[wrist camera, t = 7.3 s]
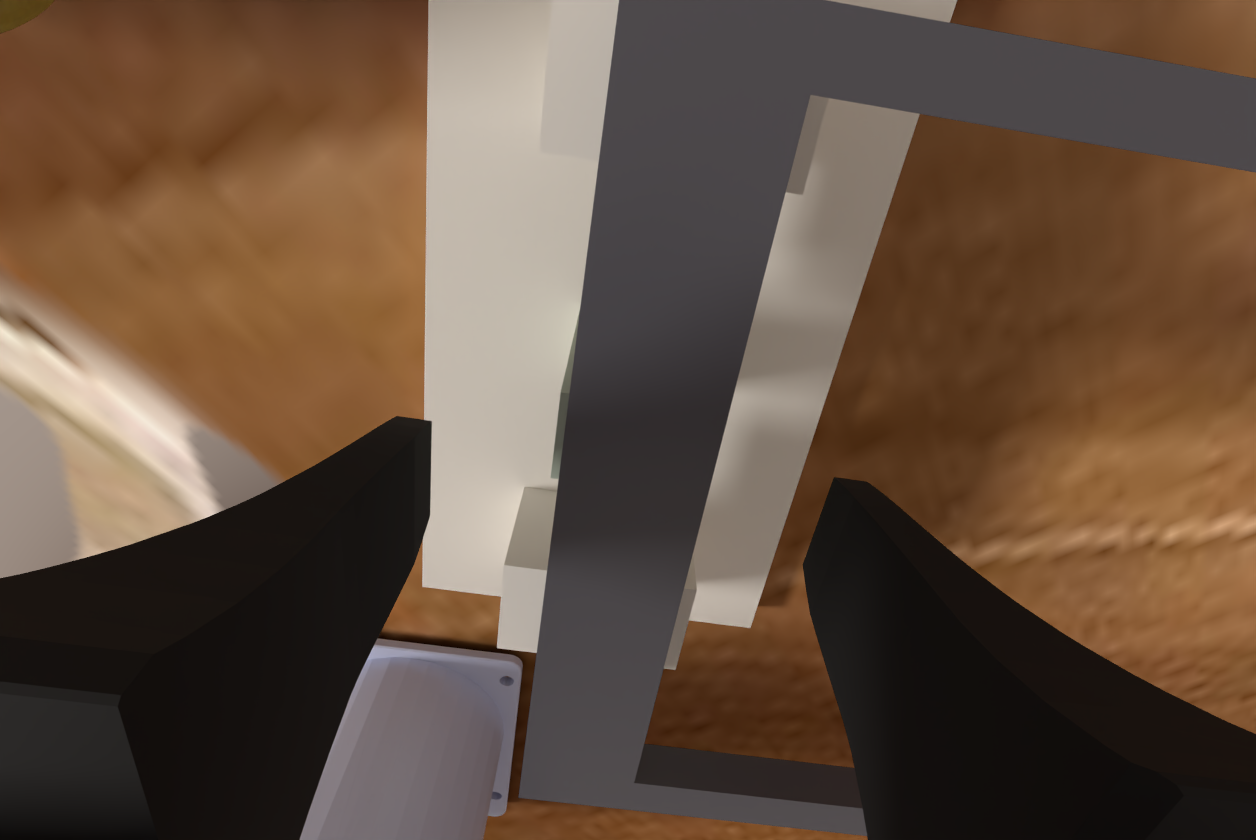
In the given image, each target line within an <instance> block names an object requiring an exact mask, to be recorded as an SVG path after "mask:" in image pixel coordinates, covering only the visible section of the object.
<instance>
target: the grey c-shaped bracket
mask: <svg viewBox="0 0 1256 840" xmlns="http://www.w3.org/2000/svg"><path fill="white" fill-rule="evenodd" d="M810 95H814V96H820V97H826V98H832V99H837V100H843V101H849V102H855V103H860V104H866V105H872V106H878V107H883V108H889V109H895V110H901V111H906V112H912V113H918V114H923V115H929V116H935V117H941V118H946V119H952V120H958V121H964V122H969V123H975V124H981V125H987V126H992V127H998V128H1004V129H1010V130H1015V131H1021V132H1027V133H1033V134H1038V135H1044V136H1050V137H1056V138H1061V139H1067V140H1073V141H1079V142H1084V143H1090V144H1096V145H1101V146H1107V147H1113V148H1119V149H1124V150H1130V151H1136V152H1142V153H1147V154H1153V155H1159V156H1165V157H1170V158H1176V159H1182V160H1188V161H1193V162H1199V163H1205V164H1211V165H1216V166H1222V167H1228V168H1234V169H1239V170H1245V171H1251V172H1256V79H1255V78H1249V77H1244V76H1238V75H1233V74H1227V73H1222V72H1216V71H1211V70H1205V69H1200V68H1194V67H1189V66H1183V65H1178V64H1173V63H1167V62H1162V61H1156V60H1151V59H1145V58H1140V57H1134V56H1129V55H1123V54H1118V53H1112V52H1107V51H1101V50H1096V49H1090V48H1085V47H1079V46H1074V45H1069V44H1063V43H1058V42H1052V41H1047V40H1041V39H1036V38H1030V37H1025V36H1019V35H1014V34H1008V33H1003V32H997V31H992V30H986V29H981V28H975V27H970V26H965V25H959V24H954V23H948V22H943V21H937V20H932V19H926V18H921V17H915V16H910V15H904V14H899V13H893V12H888V11H882V10H877V9H872V8H866V7H861V6H855V5H850V4H844V3H839V2H833V1H828V0H619V4H618V12H617V20H616V28H615V36H614V44H613V52H612V60H611V68H610V76H609V84H608V92H607V100H606V108H605V115H604V123H603V131H602V139H601V147H600V155H599V163H598V171H597V179H596V187H595V195H594V203H593V211H592V219H591V226H590V234H589V242H588V250H587V258H586V266H585V274H584V282H583V290H582V298H581V306H580V314H579V322H578V329H577V337H576V345H575V353H574V361H573V369H572V377H571V385H570V393H569V401H568V409H567V417H566V425H565V433H564V440H563V448H562V456H561V464H560V472H559V480H558V488H557V496H556V504H555V512H554V520H553V528H552V536H551V544H550V551H549V559H548V567H547V575H546V583H545V591H544V599H543V607H542V615H541V623H540V631H539V639H538V647H537V655H536V662H535V670H534V678H533V686H532V694H531V702H530V710H529V718H528V726H527V734H526V742H525V750H524V758H523V765H522V773H521V781H520V789H519V797H518V798H525V799H535V800H544V801H553V802H562V803H571V804H580V805H589V806H598V807H608V808H617V809H626V810H635V811H644V812H653V813H662V814H671V815H680V816H690V817H699V818H708V819H717V820H726V821H735V822H744V823H753V824H763V825H772V826H781V827H790V828H799V829H808V830H817V831H826V832H835V833H845V834H854V835H863V836H867V831H866V826H865V820H864V814H863V808H862V803H861V798H860V793H859V788H858V783H857V777H856V772H855V768H849V767H840V766H832V765H823V764H814V763H806V762H797V761H788V760H780V759H771V758H762V757H754V756H745V755H736V754H728V753H719V752H711V751H702V750H693V749H685V748H676V747H667V746H659V745H650V744H644V743H645V739H646V735H647V731H648V727H649V723H650V719H651V715H652V711H653V708H654V704H655V700H656V696H657V692H658V688H659V684H660V680H661V676H662V672H663V669H664V665H665V661H666V657H667V653H668V649H669V645H670V641H671V637H672V633H673V630H674V626H675V622H676V618H677V614H678V610H679V606H680V602H681V598H682V594H683V591H684V587H685V583H686V579H687V575H688V571H689V567H690V563H691V559H692V555H693V552H694V548H695V544H696V540H697V536H698V532H699V528H700V524H701V520H702V516H703V513H704V509H705V505H706V501H707V497H708V493H709V489H710V485H711V481H712V478H713V474H714V470H715V466H716V462H717V458H718V454H719V450H720V446H721V442H722V439H723V435H724V431H725V427H726V423H727V419H728V415H729V411H730V407H731V403H732V400H733V396H734V392H735V388H736V384H737V380H738V376H739V372H740V368H741V364H742V361H743V357H744V353H745V349H746V345H747V341H748V337H749V333H750V329H751V325H752V322H753V318H754V314H755V310H756V306H757V302H758V298H759V294H760V290H761V286H762V283H763V279H764V275H765V271H766V267H767V263H768V259H769V255H770V251H771V247H772V244H773V240H774V236H775V232H776V228H777V224H778V220H779V216H780V212H781V208H782V205H783V201H784V197H785V193H786V189H787V185H788V181H789V177H790V173H791V169H792V166H793V162H794V158H795V154H796V150H797V146H798V142H799V138H800V134H801V130H802V127H803V123H804V119H805V115H806V111H807V107H808V103H809V99H810Z"/></svg>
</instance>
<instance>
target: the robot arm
mask: <svg viewBox="0 0 1256 840" xmlns="http://www.w3.org/2000/svg"><path fill="white" fill-rule="evenodd" d="M431 440H432V421H428V420H421V419H413V418H406V417H399V416H396V417H394V418H392V419H391V420H389V421H387V422H385V423H384V424H382V425H380V426H379V427H377V428H376V429H374V430H372V431H371V432H369V433H368V434H366V435H364V436H363V437H361V438H360V439H358V440H356V441H355V442H353V443H351V444H350V445H348V446H346V447H345V448H343V449H341V450H340V451H338V452H336V453H335V454H333V455H331V456H330V457H328V458H326V459H325V460H323V461H321V462H320V463H318V464H316V465H315V466H313V467H311V468H309V469H307V470H305V471H303V472H301V473H300V474H298V475H296V476H294V477H292V478H290V479H288V480H286V481H285V482H283V483H281V484H279V485H277V486H275V487H273V488H272V489H270V490H268V491H266V492H264V493H262V494H260V495H257V496H255V497H253V498H251V499H249V500H247V501H245V502H242V503H240V504H238V505H236V506H233V507H231V508H229V509H226V510H224V511H221V512H219V513H217V514H214V515H212V516H210V517H207V518H205V519H202V520H200V521H197V522H194V523H192V524H189V525H186V526H183V527H180V528H177V529H174V530H171V531H169V532H166V533H163V534H160V535H157V536H154V537H151V538H148V539H146V540H143V541H140V542H137V543H134V544H131V545H128V546H125V547H121V548H118V549H115V550H111V551H108V552H104V553H101V554H97V555H94V556H90V557H87V558H83V559H79V560H75V561H72V562H68V563H64V564H60V565H57V566H53V567H49V568H45V569H40V570H36V571H32V572H28V573H24V574H20V575H14V576H10V577H5V578H0V840H483V837H484V832H485V827H486V822H487V817H488V816H500V815H502V814H504V813H505V811H506V808H507V801H508V792H509V784H510V775H511V766H512V757H513V748H514V739H515V730H516V721H517V713H518V704H519V695H520V686H521V677H522V668H523V664H522V661H521V660H520V659H519V658H518V657H516V656H514V655H510V654H502V653H494V652H486V651H477V650H469V649H461V648H453V647H444V646H436V645H428V644H420V643H411V642H403V641H395V640H387V639H378V636H379V634H380V632H381V630H382V628H383V626H384V624H385V622H386V620H387V618H388V616H389V614H390V612H391V610H392V608H393V606H394V604H395V602H396V600H397V598H398V596H399V594H400V592H401V590H402V588H403V586H404V584H405V582H406V580H407V578H408V576H409V574H410V571H411V569H412V567H413V565H414V563H415V560H416V557H417V554H418V551H419V548H420V545H421V543H422V540H423V536H424V533H425V530H426V527H427V524H428V521H429V518H430V498H431ZM803 570H804V577H805V584H806V592H807V598H808V603H809V609H810V615H811V618H812V622H813V625H814V628H815V632H816V635H817V638H818V642H819V645H820V648H821V652H822V655H823V658H824V661H825V665H826V668H827V671H828V674H829V677H830V681H831V684H832V687H833V690H834V693H835V697H836V700H837V703H838V706H839V710H840V713H841V716H842V719H843V722H844V726H845V729H846V733H847V737H848V741H849V745H850V748H851V752H852V757H853V762H854V767H855V772H856V777H857V783H858V788H859V793H860V798H861V803H862V808H863V814H864V820H865V826H866V831H867V837H868V840H1256V734H1254V733H1252V732H1249V731H1247V730H1245V729H1243V728H1240V727H1238V726H1236V725H1233V724H1231V723H1229V722H1227V721H1224V720H1222V719H1220V718H1218V717H1216V716H1214V715H1212V714H1210V713H1208V712H1206V711H1204V710H1202V709H1200V708H1198V707H1196V706H1194V705H1192V704H1190V703H1187V702H1185V701H1183V700H1181V699H1179V698H1177V697H1175V696H1173V695H1171V694H1169V693H1167V692H1165V691H1163V690H1161V689H1160V688H1158V687H1156V686H1154V685H1152V684H1150V683H1148V682H1146V681H1144V680H1143V679H1141V678H1139V677H1137V676H1135V675H1133V674H1131V673H1130V672H1128V671H1126V670H1124V669H1123V668H1121V667H1119V666H1117V665H1116V664H1114V663H1112V662H1110V661H1109V660H1107V659H1105V658H1103V657H1102V656H1100V655H1098V654H1096V653H1095V652H1093V651H1091V650H1089V649H1088V648H1086V647H1084V646H1083V645H1081V644H1079V643H1078V642H1076V641H1075V640H1073V639H1071V638H1070V637H1068V636H1066V635H1065V634H1063V633H1062V632H1060V631H1059V630H1057V629H1056V628H1054V627H1053V626H1051V625H1050V624H1048V623H1047V622H1045V621H1044V620H1042V619H1041V618H1039V617H1038V616H1036V615H1035V614H1033V613H1032V612H1030V611H1029V610H1027V609H1026V608H1024V607H1023V606H1021V605H1020V604H1018V603H1017V602H1016V601H1014V600H1013V599H1011V598H1010V597H1009V596H1007V595H1006V594H1005V593H1003V592H1002V591H1001V590H999V589H998V588H997V587H995V586H994V585H993V584H991V583H990V582H989V581H987V580H986V579H985V578H984V577H982V576H981V575H980V574H978V573H977V572H976V571H974V570H973V569H972V568H971V567H969V566H968V565H967V564H966V563H964V562H963V561H962V560H961V559H960V558H958V557H957V556H956V555H955V554H953V553H952V552H951V551H950V550H949V549H947V548H946V547H945V546H944V545H943V544H941V543H940V542H939V541H938V540H937V539H936V538H934V537H933V536H932V535H931V534H930V533H929V532H927V531H926V530H925V529H924V528H923V527H922V526H920V525H919V524H918V523H917V522H916V521H915V520H913V519H912V518H911V517H910V516H909V515H908V514H907V513H905V512H904V511H903V510H902V509H901V508H900V507H898V506H897V505H896V504H895V503H894V502H892V501H891V500H890V499H889V498H888V497H886V496H885V495H884V494H883V493H881V492H880V491H879V490H878V489H876V488H875V487H874V486H872V485H871V484H869V483H868V482H864V481H857V480H850V479H843V478H836V477H834V479H833V482H832V484H831V487H830V490H829V493H828V496H827V498H826V501H825V504H824V507H823V510H822V512H821V515H820V518H819V521H818V524H817V526H816V529H815V532H814V535H813V538H812V540H811V543H810V546H809V549H808V552H807V554H806V557H805V560H804V563H803ZM505 676H508V677H505Z"/></svg>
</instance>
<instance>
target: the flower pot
mask: <svg viewBox="0 0 1256 840" xmlns="http://www.w3.org/2000/svg"><path fill="white" fill-rule="evenodd" d="M53 1H54V0H0V33H3V32H6V31H9V30H12V29H14V28H16V27H18V26H20V25H22V24H24V23H26V22H28V21H30V20H32V19H33V18H35V17H37V16H38V15H39V14H40V13H42V12H43V11H44V10H45V9H46V8H48V7H49V6H50V5H51V4H52V3H53Z"/></svg>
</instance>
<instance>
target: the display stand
mask: <svg viewBox="0 0 1256 840" xmlns="http://www.w3.org/2000/svg"><path fill="white" fill-rule="evenodd" d="M828 1H833V2H839V3H844V4H850V5H855V6H861V7H866V8H872V9H877V10H882V11H888V12H893V13H899V14H904V15H910V16H915V17H921V18H926V19H932V20H937V21H943V22H948V23H950V21H951V18H952V15H953V12H954V9H955V6H956V2H957V0H828ZM618 4H619V0H429V3H428V99H427V195H426V290H425V386H424V420H428V421H432V440H431V498H430V518H429V521H428V524H427V527H426V530H425V533H424V536H423V578H422V587H429V588H437V589H445V590H453V591H461V592H468V593H476V594H484V595H492V596H500V597H501V605H500V617H499V628H498V640H497V648H500V649H508V650H516V651H524V652H533V653H537V647H538V639H539V631H540V623H541V615H542V607H543V599H544V591H545V583H546V575H547V567H548V559H549V551H550V544H551V536H552V528H553V520H554V512H555V504H556V496H557V488H558V480H559V472H560V464H561V456H562V448H563V440H564V433H565V425H566V417H567V409H568V401H569V393H570V385H571V377H572V369H573V361H574V353H575V345H576V337H577V329H578V322H579V314H580V306H581V298H582V290H583V282H584V274H585V266H586V258H587V250H588V242H589V234H590V226H591V219H592V211H593V203H594V195H595V187H596V179H597V171H598V163H599V155H600V147H601V139H602V131H603V123H604V115H605V108H606V100H607V92H608V84H609V76H610V68H611V60H612V52H613V44H614V36H615V28H616V20H617V12H618ZM919 115H920V114H918V113H912V112H906V111H901V110H895V109H889V108H883V107H878V106H872V105H866V104H860V103H855V102H849V101H843V100H837V99H832V98H826V97H820V96H814V95H810V99H809V103H808V107H807V111H806V115H805V119H804V123H803V127H802V130H801V134H800V138H799V142H798V146H797V150H796V154H795V158H794V162H793V166H792V169H791V173H790V177H789V181H788V185H787V189H786V193H785V197H784V201H783V205H782V208H781V212H780V216H779V220H778V224H777V228H776V232H775V236H774V240H773V244H772V247H771V251H770V255H769V259H768V263H767V267H766V271H765V275H764V279H763V283H762V286H761V290H760V294H759V298H758V302H757V306H756V310H755V314H754V318H753V322H752V325H751V329H750V333H749V337H748V341H747V345H746V349H745V353H744V357H743V361H742V364H741V368H740V372H739V376H738V380H737V384H736V388H735V392H734V396H733V400H732V403H731V407H730V411H729V415H728V419H727V423H726V427H725V431H724V435H723V439H722V442H721V446H720V450H719V454H718V458H717V462H716V466H715V470H714V474H713V478H712V481H711V485H710V489H709V493H708V497H707V501H706V505H705V509H704V513H703V516H702V520H701V524H700V528H699V532H698V536H697V540H696V544H695V548H694V552H693V555H692V559H691V563H690V567H689V571H688V575H687V579H686V583H685V587H684V591H683V594H682V598H681V602H680V606H679V610H678V614H677V618H676V622H675V626H674V630H673V633H672V637H671V641H670V645H669V649H668V653H667V657H666V661H665V665H664V669H672V670H676V666H677V662H678V659H679V655H680V651H681V647H682V644H683V640H684V636H685V633H686V629H687V625H688V621H689V620H690V621H698V622H706V623H714V624H722V625H730V626H738V627H746V628H751V624H752V621H753V618H754V615H755V612H756V609H757V606H758V603H759V600H760V597H761V594H762V591H763V588H764V585H765V582H766V579H767V576H768V573H769V570H770V567H771V564H772V561H773V558H774V555H775V552H776V549H777V546H778V543H779V540H780V536H781V533H782V530H783V527H784V524H785V521H786V518H787V515H788V512H789V509H790V506H791V503H792V500H793V497H794V494H795V491H796V488H797V485H798V482H799V479H800V476H801V473H802V470H803V467H804V464H805V461H806V458H807V455H808V452H809V448H810V445H811V442H812V439H813V436H814V433H815V430H816V427H817V424H818V421H819V418H820V415H821V412H822V409H823V406H824V403H825V400H826V397H827V394H828V391H829V388H830V385H831V382H832V379H833V376H834V373H835V370H836V367H837V364H838V361H839V357H840V354H841V351H842V348H843V345H844V342H845V339H846V336H847V333H848V330H849V327H850V324H851V321H852V318H853V315H854V312H855V309H856V306H857V303H858V300H859V297H860V294H861V291H862V288H863V285H864V282H865V279H866V276H867V273H868V269H869V266H870V263H871V260H872V257H873V254H874V251H875V248H876V245H877V242H878V239H879V236H880V233H881V230H882V227H883V224H884V221H885V218H886V215H887V212H888V209H889V206H890V203H891V200H892V197H893V194H894V191H895V188H896V185H897V182H898V178H899V175H900V172H901V169H902V166H903V163H904V160H905V157H906V154H907V151H908V148H909V145H910V142H911V139H912V136H913V133H914V130H915V127H916V124H917V121H918V118H919Z"/></svg>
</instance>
